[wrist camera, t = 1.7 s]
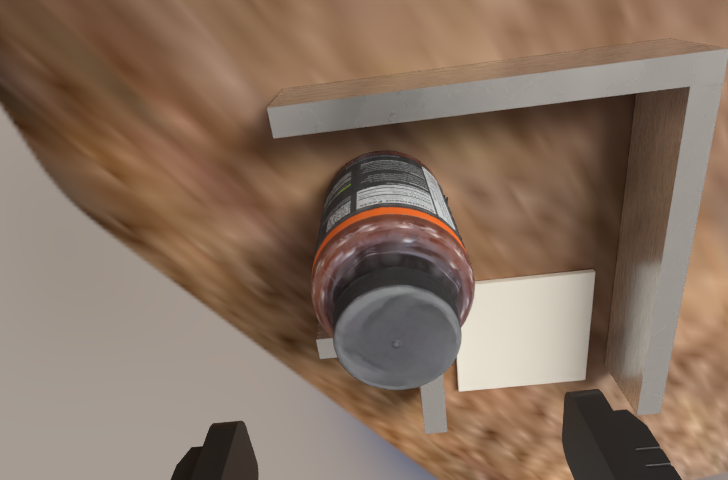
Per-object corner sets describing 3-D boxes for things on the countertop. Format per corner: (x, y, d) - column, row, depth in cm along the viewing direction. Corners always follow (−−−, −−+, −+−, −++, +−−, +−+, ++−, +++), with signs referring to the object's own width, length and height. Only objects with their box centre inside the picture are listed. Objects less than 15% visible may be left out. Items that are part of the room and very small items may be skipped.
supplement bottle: (419, 267, 27) (450, 434, 17) (312, 238, 26) (279, 394, 16) (460, 166, 24) (527, 291, 14) (343, 130, 24) (327, 236, 14)
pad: (452, 284, 27) (453, 287, 27) (593, 269, 27) (595, 271, 27) (458, 387, 31) (458, 391, 31) (583, 376, 30) (585, 379, 30)
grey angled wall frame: (282, 89, 23) (266, 108, 19) (670, 38, 22) (729, 48, 18) (340, 389, 31) (337, 441, 27) (625, 362, 30) (660, 413, 26)
